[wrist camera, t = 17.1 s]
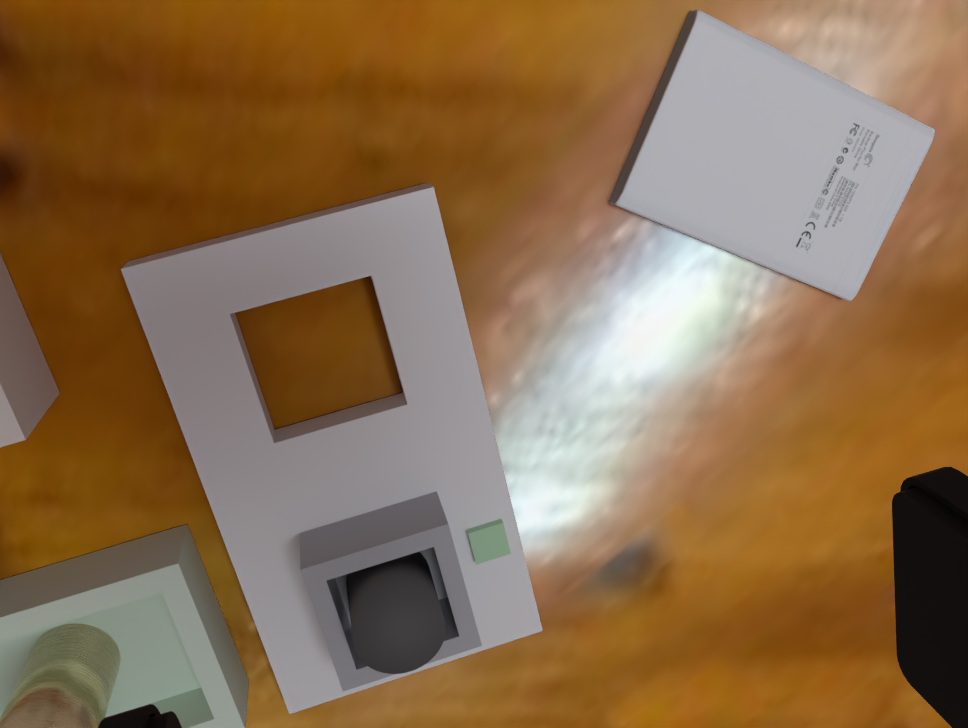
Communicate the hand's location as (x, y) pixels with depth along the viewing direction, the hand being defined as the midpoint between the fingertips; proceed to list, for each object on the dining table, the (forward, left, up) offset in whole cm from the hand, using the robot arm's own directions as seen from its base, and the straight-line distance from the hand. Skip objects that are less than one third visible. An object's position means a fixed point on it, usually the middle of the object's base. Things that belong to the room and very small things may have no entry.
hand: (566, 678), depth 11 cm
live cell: (+13, -17, -26) cm, 34 cm away
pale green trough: (+13, -17, -27) cm, 34 cm away
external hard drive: (0, +17, -28) cm, 33 cm away
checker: (+8, -3, -27) cm, 28 cm away
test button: (+13, -3, -25) cm, 28 cm away
